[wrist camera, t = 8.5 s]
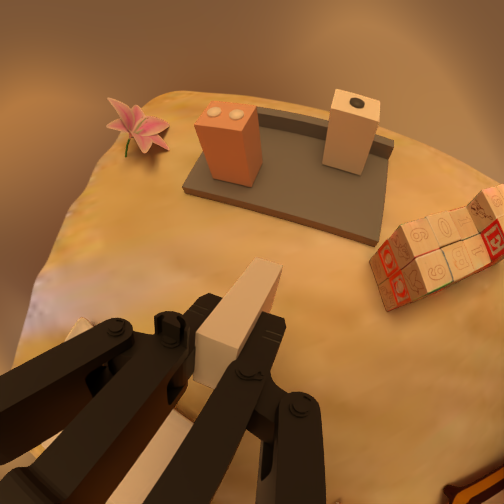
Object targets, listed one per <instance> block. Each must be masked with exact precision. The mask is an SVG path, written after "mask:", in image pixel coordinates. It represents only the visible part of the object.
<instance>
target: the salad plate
mask: <svg viewBox="0 0 504 504" xmlns="http://www.w3.org/2000/svg"><path fill="white" fill-rule="evenodd" d="M92 327H93V325H92V324H91V323H90V322H89V321H88V320H87V319H85V318H83V317H81V318H80V319H79V320H78V321H77V322H76V323H75V325H74V326H73V328H72V329H71V331H70V333H69V334H68V336H67V338H66V339H65V341H67V340H69V339H71V338H73V337H75V336H77V335H79V334H81V333H83V332H85V331H86V330H88V329H90V328H92ZM65 341H64V342H65ZM193 424H194V423H193V422H191V421H190V420H189V419H187V418H186V417H184V416H183V415H182V414H180V413H179V412H178V411H176V410H175V409H174V408H173V410H172V411H171V413H170V414H169V415H168V417H167V418H166V420H165V421H164V423H163V424H162V426H161V427H160V428H159V430H158V431H157V433H156V434H155V436H154V437H153V438H152V440H151V441H150V443H149V444H148V445H147V447H146V448H145V450H144V451H143V452H142V454H141V455H140V457H139V458H138V459H137V461H136V462H135V464H134V465H133V466H132V468H131V469H130V471H129V472H128V473H127V475H126V476H125V477H124V479H123V480H122V482H121V483H120V484H119V486H118V487H117V488H116V490H115V491H114V492H113V494H112V495H111V496H110V498H109V499H108V500H107V502H106V503H105V504H142V503H143V501H144V500H145V498H146V497H147V496H148V494H149V493H150V491H151V490H152V488H153V487H154V485H155V484H156V482H157V481H158V479H159V478H160V476H161V475H162V473H163V471H164V470H165V468H166V467H167V465H168V464H169V462H170V461H171V459H172V458H173V456H174V454H175V453H176V451H177V450H178V448H179V447H180V445H181V443H182V442H183V440H184V439H185V437H186V435H187V434H188V432H189V431H190V429H191V427H192V426H193ZM61 432H62V431H61ZM61 432H59V433H58V434H56V435H54V436H53V437H51V438H50V439H48V440H46V441H45V442H43V443H41V445H42V446H43V447H44V449H46V448H47V447H48V446H49V445H50V444H51V443H52V442H53V441H54V440H55V439H56V437H57V436H58V435H59V434H60V433H61Z"/></svg>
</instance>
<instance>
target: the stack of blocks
mask: <svg viewBox="0 0 504 504" xmlns="http://www.w3.org/2000/svg"><path fill="white" fill-rule="evenodd" d="M502 259H504V184H500V185H497V186H494V187H490V188H486V189H483V190H481V191H480V192H479V194H478V195H477V196H476V197H475V198H474V199H473V200H472V201H471V202H470V203H469V204H468V205H467V206H465V207H461V208H458V209H454V210H451V211H444V212H440V213H436V214H432V215H429V216H426V217H425V218H422V219H418V220H415V221H411V222H407V223H404V224H401V225H400V226H399V227H398V228H397V229H396V231H395V232H394V233H393V234H392V235H391V237H390V238H389V239H387V240H386V241H385V242H384V243H383V244H382V246H381V247H380V248H379V249H378V251H377V252H376V253H375V255H374V256H373V257H372V258H371V259H370V261H369V262H370V264H371V267H372V270H373V273H374V276H375V279H376V281H377V284H378V288H379V291H380V294H381V297H382V300H383V303H384V306H385V309H386V311H390V310H392V309H395V308H397V307H400V306H402V305H405V304H407V303H412V302H415V301H417V300H419V299H422V298H424V297H426V296H429V295H431V294H434V293H436V292H438V291H440V290H443V289H445V288H447V287H449V286H451V285H452V284H454V283H457V282H459V281H461V280H463V279H465V278H467V277H469V276H471V275H473V274H475V273H478V272H480V271H482V270H484V269H486V268H488V267H490V266H492V265H494V264H496V263H498V262H499V261H501V260H502Z"/></svg>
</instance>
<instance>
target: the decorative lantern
mask: <svg viewBox="0 0 504 504" xmlns="http://www.w3.org/2000/svg"><path fill="white" fill-rule="evenodd" d="M444 493H445V495H446V496H447V497H448V499H449V504H504V464H503V465H502V466H500V467H499V468H497V469H496V470H494V471H492V472H491V473H489V474H487V475H485V476H484V477H482V478H480V479H478V480H476V481H475V482H473V483H471V484H469V485H466V486H464V487H456V486H452V485H447V486H446V487H445V488H444Z"/></svg>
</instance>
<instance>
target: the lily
mask: <svg viewBox="0 0 504 504" xmlns="http://www.w3.org/2000/svg"><path fill="white" fill-rule="evenodd" d="M107 99H108V100H109V102H110V103H111V104H112V105H113V107H114V108H115V109H116V111H117V112H118V114H119V116H120V118H121V119H116V120H114V121H112V122H110V123H109V124H108V125H107V126H106V127H107V128H111V129H115V130H119V131H123V132H127V133H129V139H128V142H127V145H126V152H125V157H127V150H128V144H129V141H130V139H131V138H134V139H135V140H136V142H137V144H138V146H139V148H140V149H141V151H142V152H143V153H146V152H147V151H148V150H149V149H150V147H151V145H152V143H155V144H157V145H159V146H161V147H163V148H165V149H167V150H169V151H170V149H169V147H168V146H167V144H166V143H165V141H164V140H163V139H162V138H161V137H160V136H159V135H158V133H160V132H162V131H163V130H165V129H166V128H168V127H169V126H170V125H169V123H168V122H166V121H164V120H162V119H160V118H157V117H153V116H145V114H144V113H143V111H142V109H141V108H140V107H139V106H138V105H134V106H133V107H132V109H130V108H129V107H128V106H127V105H126V104H124V103H122V102H120V101H118V100H115V99H112V98H107Z"/></svg>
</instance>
